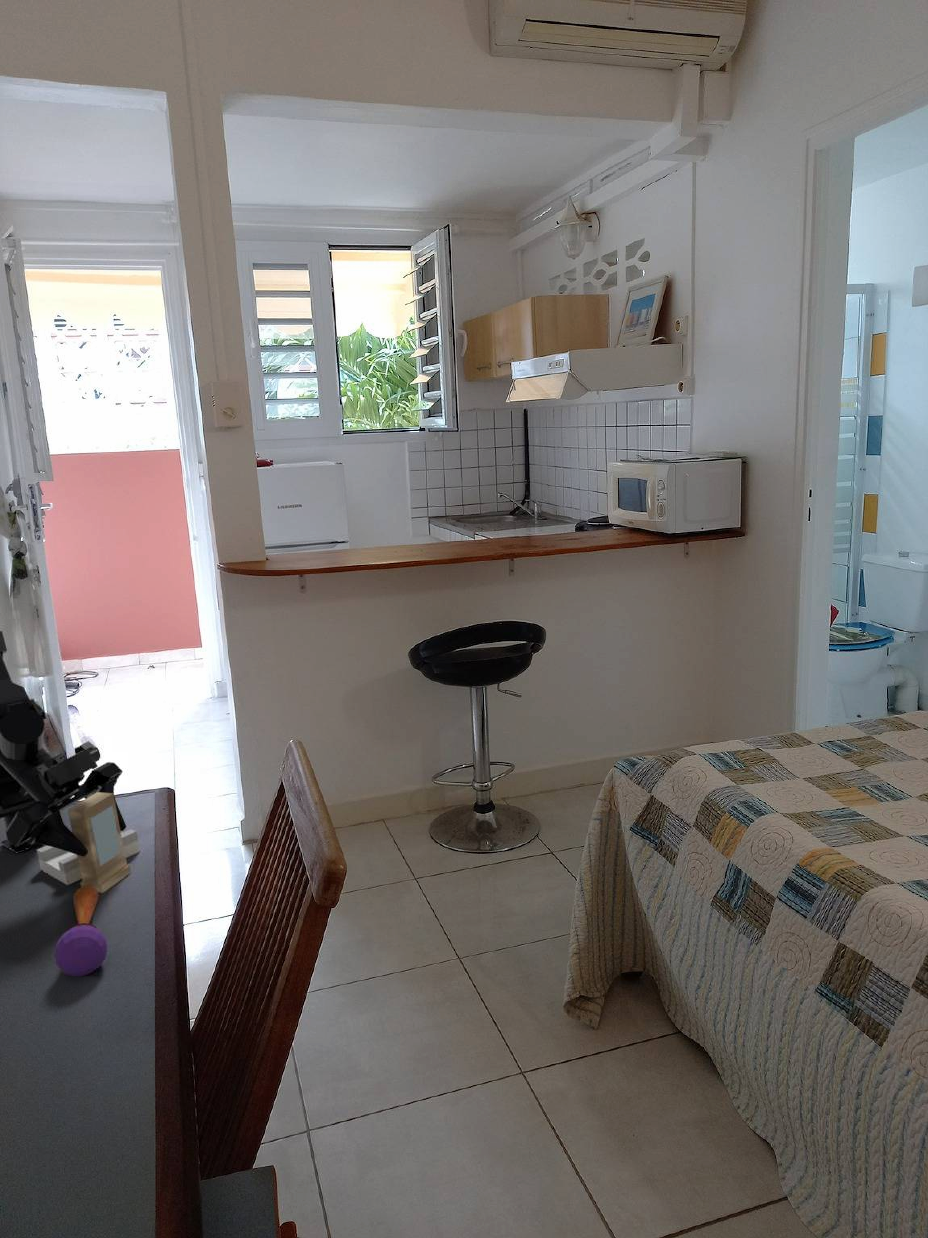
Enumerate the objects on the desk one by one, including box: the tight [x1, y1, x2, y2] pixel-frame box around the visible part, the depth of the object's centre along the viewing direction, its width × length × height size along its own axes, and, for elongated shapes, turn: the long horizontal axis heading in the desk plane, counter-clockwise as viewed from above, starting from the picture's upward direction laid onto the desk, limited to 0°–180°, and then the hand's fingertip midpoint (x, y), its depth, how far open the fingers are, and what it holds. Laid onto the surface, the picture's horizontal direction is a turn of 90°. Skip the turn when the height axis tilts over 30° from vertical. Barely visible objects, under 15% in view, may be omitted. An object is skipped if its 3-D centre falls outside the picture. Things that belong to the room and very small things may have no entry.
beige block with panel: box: [67, 792, 132, 894], centre depth 130 cm, size 4×6×13 cm, turn 160°
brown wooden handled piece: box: [54, 886, 108, 977], centre depth 115 cm, size 6×6×20 cm
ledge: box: [36, 828, 141, 886], centre depth 138 cm, size 9×12×4 cm
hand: (105, 841), depth 129 cm, fingers open, 8 cm apart
